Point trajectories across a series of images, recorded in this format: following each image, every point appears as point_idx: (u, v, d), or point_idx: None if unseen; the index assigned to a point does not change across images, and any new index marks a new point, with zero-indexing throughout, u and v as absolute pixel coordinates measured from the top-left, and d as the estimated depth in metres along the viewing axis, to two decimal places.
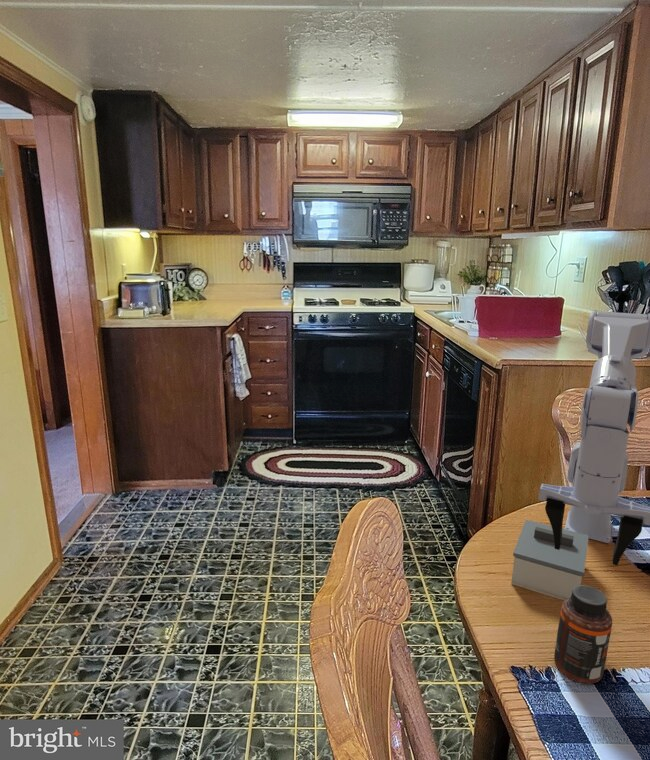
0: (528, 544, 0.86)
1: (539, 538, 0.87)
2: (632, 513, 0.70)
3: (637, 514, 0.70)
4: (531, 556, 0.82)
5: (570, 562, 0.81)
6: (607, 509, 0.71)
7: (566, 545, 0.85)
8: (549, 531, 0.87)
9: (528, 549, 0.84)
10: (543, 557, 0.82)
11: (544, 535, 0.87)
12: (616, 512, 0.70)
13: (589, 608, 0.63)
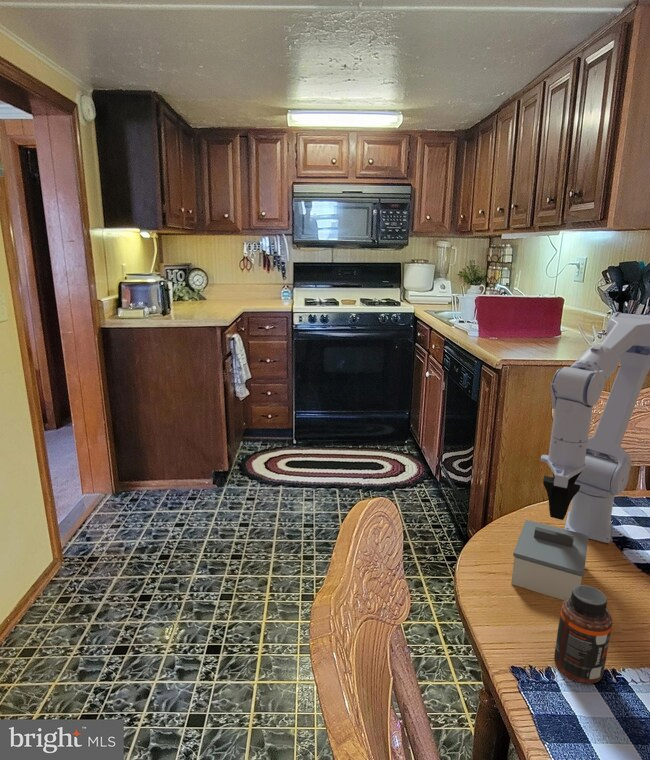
0: (528, 544, 0.86)
1: (539, 538, 0.87)
2: (553, 471, 0.85)
3: (554, 473, 0.84)
4: (531, 556, 0.82)
5: (570, 562, 0.81)
6: (548, 462, 0.88)
7: (566, 545, 0.85)
8: (549, 531, 0.87)
9: (528, 549, 0.84)
10: (543, 557, 0.82)
11: (544, 535, 0.87)
12: (549, 466, 0.87)
13: (589, 608, 0.63)
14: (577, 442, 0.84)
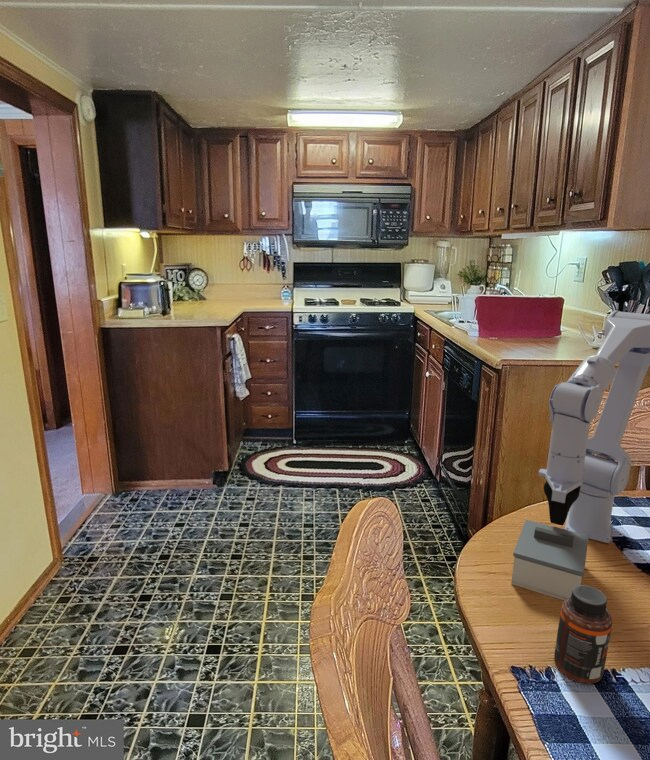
0: (528, 544, 0.86)
1: (539, 538, 0.87)
2: (550, 486, 0.86)
3: (551, 488, 0.85)
4: (531, 556, 0.82)
5: (570, 562, 0.81)
6: (546, 476, 0.89)
7: (566, 545, 0.85)
8: (549, 531, 0.87)
9: (528, 549, 0.84)
10: (543, 557, 0.82)
11: (544, 535, 0.87)
12: (547, 481, 0.88)
13: (589, 608, 0.63)
14: (575, 457, 0.85)
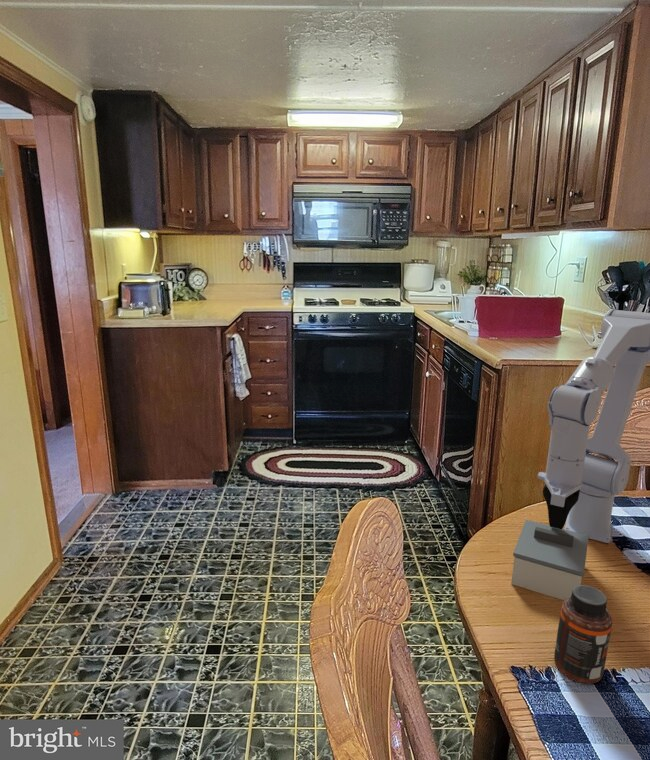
0: (528, 544, 0.86)
1: (539, 538, 0.87)
2: (549, 489, 0.85)
3: (550, 491, 0.84)
4: (531, 556, 0.82)
5: (570, 562, 0.81)
6: (545, 480, 0.88)
7: (566, 545, 0.85)
8: (549, 531, 0.87)
9: (528, 549, 0.84)
10: (543, 557, 0.82)
11: (544, 535, 0.87)
12: (546, 484, 0.87)
13: (589, 608, 0.63)
14: (574, 461, 0.84)
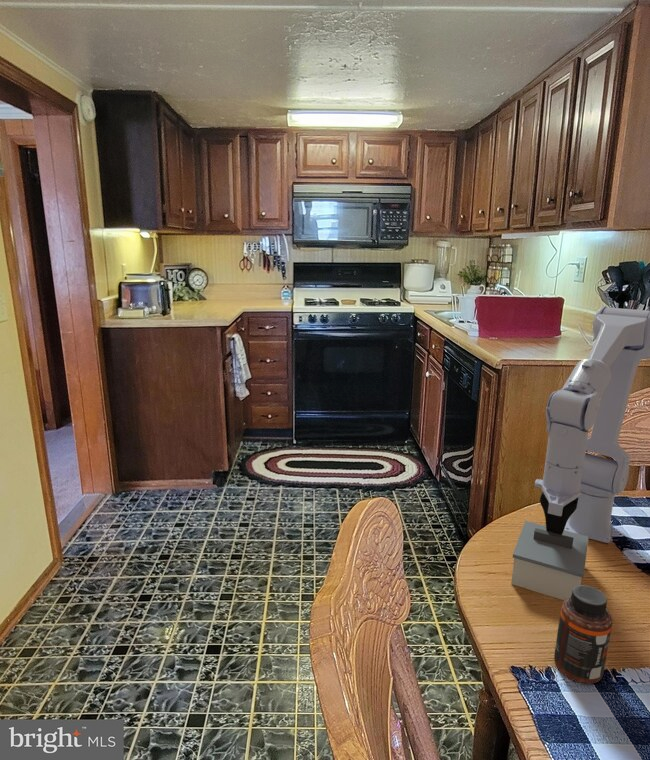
0: (527, 546, 0.85)
1: (539, 539, 0.87)
2: (547, 497, 0.82)
3: (548, 500, 0.81)
4: (531, 558, 0.82)
5: (570, 564, 0.80)
6: (542, 487, 0.85)
7: (566, 546, 0.85)
8: (549, 532, 0.86)
9: (528, 550, 0.84)
10: (543, 559, 0.82)
11: (544, 536, 0.86)
12: (544, 492, 0.84)
13: (589, 608, 0.63)
14: (572, 468, 0.81)
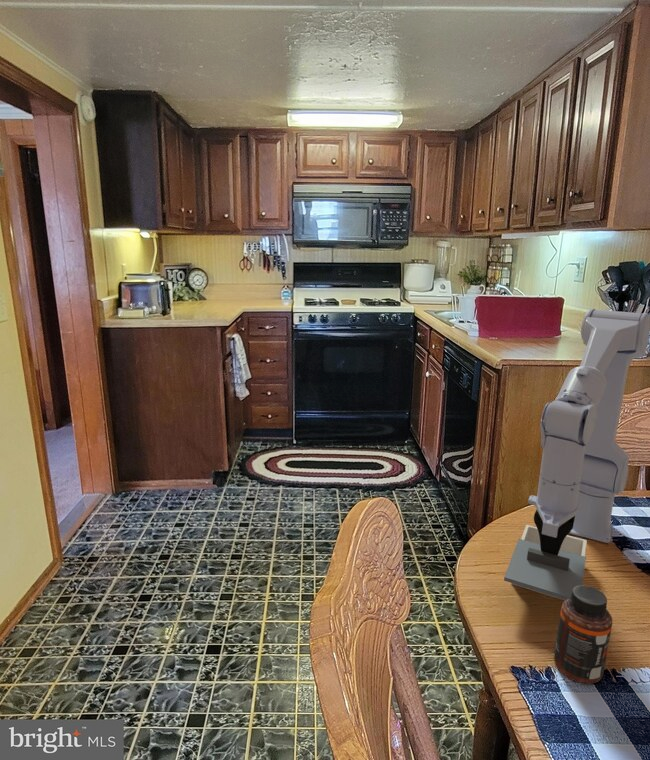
0: (520, 567, 0.79)
1: (532, 560, 0.81)
2: (541, 517, 0.76)
3: (542, 519, 0.76)
4: (523, 581, 0.76)
5: (565, 588, 0.74)
6: (536, 505, 0.79)
7: (561, 568, 0.79)
8: (543, 553, 0.81)
9: (520, 573, 0.78)
10: (536, 582, 0.76)
11: (538, 557, 0.80)
12: (538, 510, 0.78)
13: (589, 608, 0.63)
14: (568, 485, 0.75)
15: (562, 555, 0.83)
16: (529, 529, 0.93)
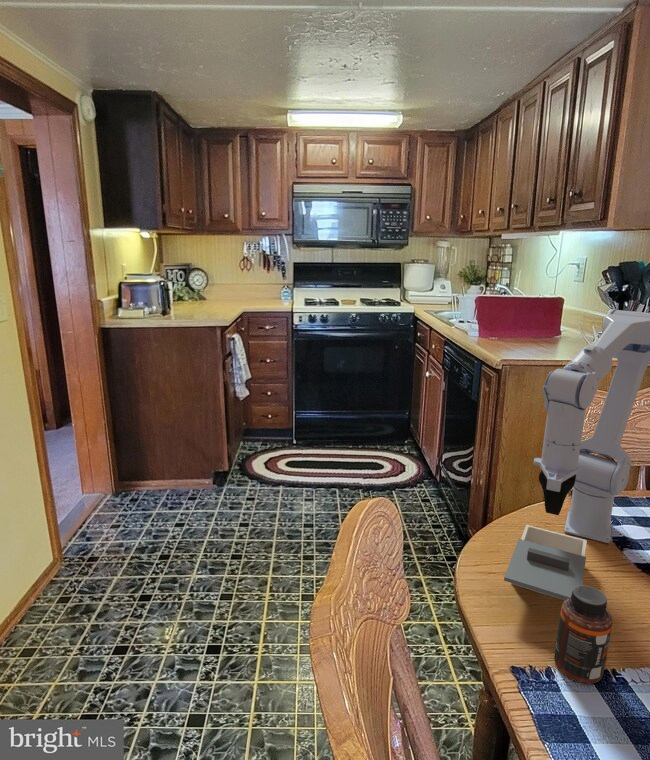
0: (520, 567, 0.79)
1: (532, 560, 0.81)
2: (545, 474, 0.84)
3: (546, 477, 0.83)
4: (523, 581, 0.76)
5: (565, 588, 0.74)
6: (541, 465, 0.87)
7: (561, 568, 0.79)
8: (543, 553, 0.81)
9: (520, 573, 0.78)
10: (536, 582, 0.76)
11: (538, 557, 0.80)
12: (542, 470, 0.86)
13: (589, 608, 0.63)
14: (570, 445, 0.83)
15: (562, 555, 0.83)
16: (529, 529, 0.93)
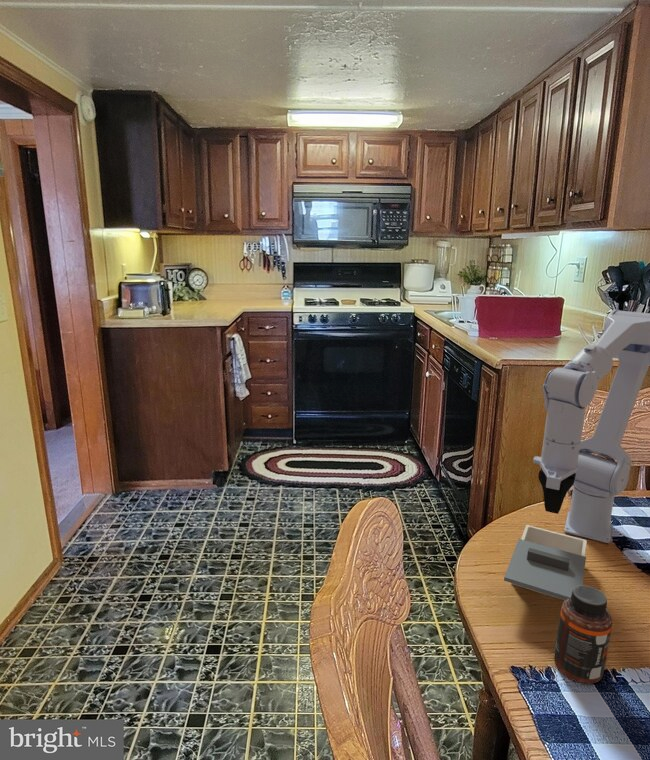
0: (520, 567, 0.79)
1: (532, 560, 0.81)
2: (545, 473, 0.84)
3: (546, 475, 0.84)
4: (523, 581, 0.76)
5: (565, 588, 0.74)
6: (540, 463, 0.87)
7: (561, 568, 0.79)
8: (543, 553, 0.81)
9: (520, 573, 0.78)
10: (536, 582, 0.76)
11: (538, 557, 0.80)
12: (542, 468, 0.86)
13: (589, 608, 0.63)
14: (570, 444, 0.84)
15: (562, 555, 0.83)
16: (529, 529, 0.93)
